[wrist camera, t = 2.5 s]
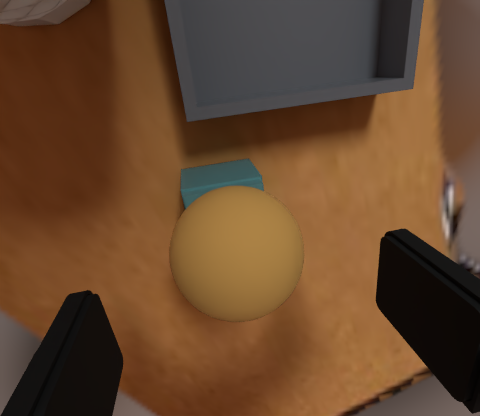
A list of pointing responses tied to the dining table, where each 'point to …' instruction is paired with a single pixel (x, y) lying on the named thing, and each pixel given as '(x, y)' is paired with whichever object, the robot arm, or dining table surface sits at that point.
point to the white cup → (38, 11)
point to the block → (218, 178)
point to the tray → (290, 51)
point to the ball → (236, 253)
